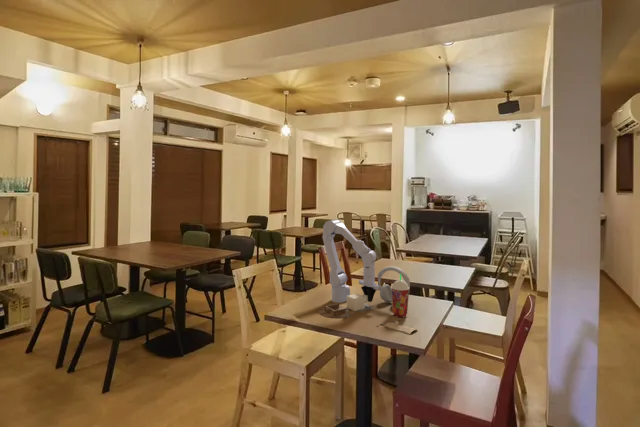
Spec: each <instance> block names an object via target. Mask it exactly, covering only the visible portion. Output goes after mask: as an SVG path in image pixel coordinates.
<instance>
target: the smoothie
mask: <svg viewBox="0 0 640 427" xmlns="http://www.w3.org/2000/svg"><path fill="white" fill-rule="evenodd" d="M391 288H392V302H391V304H392V306H391V307H392V314H393V315H394V317H396V316H397V318H404V316H405V317H406V316H407V314H408V307H409V296H410V289H409V287H408V284H407V283H406V282H405V280H404V279H402V276H401V274H399V279H396V280H394V282H393V284H392V286H391Z"/></svg>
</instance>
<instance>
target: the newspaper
mask: <svg viewBox="0 0 640 427" xmlns="http://www.w3.org/2000/svg"><path fill="white" fill-rule="evenodd" d="M379 326H381V327H384V326H385V327H384V328H387V327H388V329H390V328H391V329H390V330H393V331H397V332H400V331H401V332H400V333H403V332H404V333H403V334H406V333H408V334H407V335H409V334H410V335H411V333H412V332H413V331H414V330H417V329H416V328H412V327H408V326H405V325H403V324H399V323H397V322H392V321H389V322H385V323H381V324H379ZM414 332H415V331H414Z"/></svg>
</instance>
